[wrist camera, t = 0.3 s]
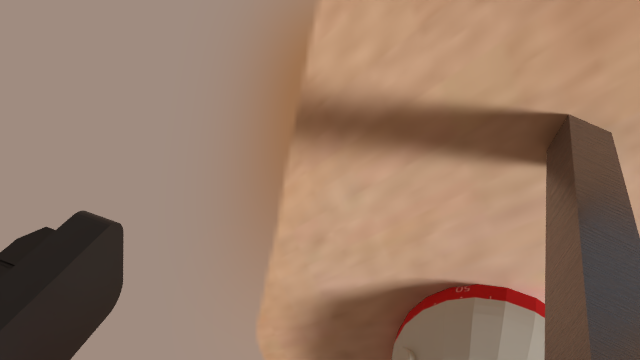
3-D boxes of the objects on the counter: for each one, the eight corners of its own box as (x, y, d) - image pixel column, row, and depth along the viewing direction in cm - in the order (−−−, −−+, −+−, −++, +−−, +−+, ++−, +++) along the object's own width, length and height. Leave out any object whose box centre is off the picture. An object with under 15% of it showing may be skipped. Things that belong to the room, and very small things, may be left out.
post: (569, 114, 35) (591, 360, 16) (611, 132, 35) (684, 406, 16) (546, 151, 36) (543, 419, 18) (587, 169, 36) (629, 463, 17)
